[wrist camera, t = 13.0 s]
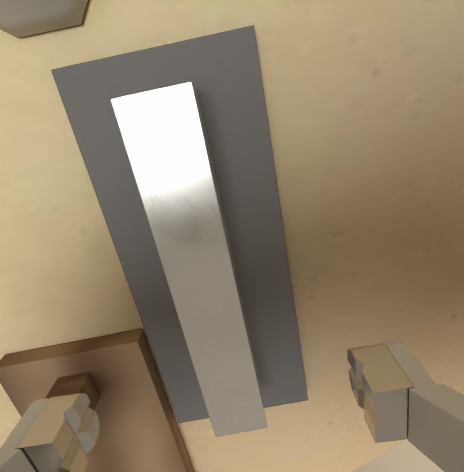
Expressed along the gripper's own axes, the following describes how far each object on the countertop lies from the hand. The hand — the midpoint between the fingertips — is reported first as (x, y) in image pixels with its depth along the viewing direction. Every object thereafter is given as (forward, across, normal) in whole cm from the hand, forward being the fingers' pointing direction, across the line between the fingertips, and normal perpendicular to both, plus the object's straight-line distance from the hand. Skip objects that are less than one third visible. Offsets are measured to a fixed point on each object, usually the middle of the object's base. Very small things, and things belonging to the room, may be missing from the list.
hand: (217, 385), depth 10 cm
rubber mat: (+9, +1, 0) cm, 9 cm away
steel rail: (+8, +1, 0) cm, 8 cm away
